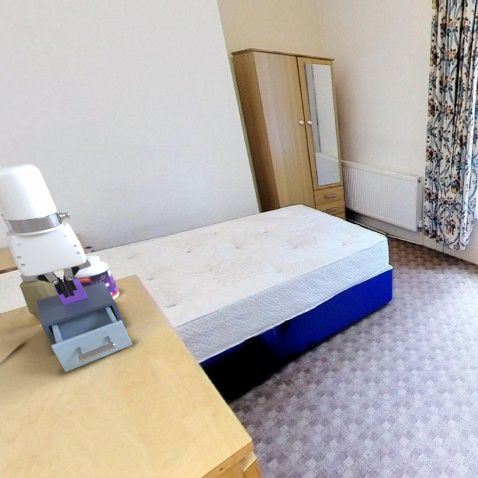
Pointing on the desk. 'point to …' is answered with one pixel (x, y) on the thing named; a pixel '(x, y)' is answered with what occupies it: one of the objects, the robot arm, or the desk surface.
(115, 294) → the pill bottle
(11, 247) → the robot arm
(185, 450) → the desk surface
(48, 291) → the squeeze bottle
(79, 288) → the block
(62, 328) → the pull-out drawer
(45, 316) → the dark grey drawer cabinet
